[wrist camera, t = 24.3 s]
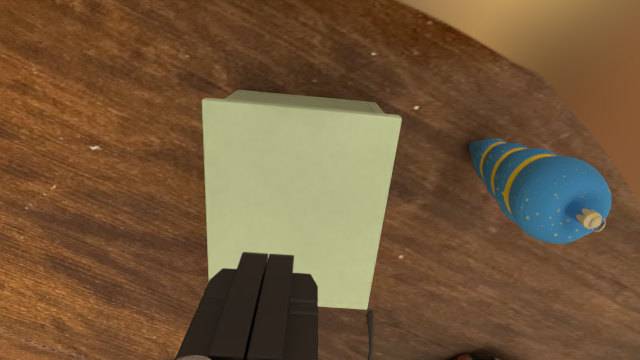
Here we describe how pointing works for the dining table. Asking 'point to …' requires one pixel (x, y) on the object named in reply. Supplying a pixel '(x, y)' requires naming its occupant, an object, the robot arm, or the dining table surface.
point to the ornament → (543, 189)
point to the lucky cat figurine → (473, 357)
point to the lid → (299, 190)
